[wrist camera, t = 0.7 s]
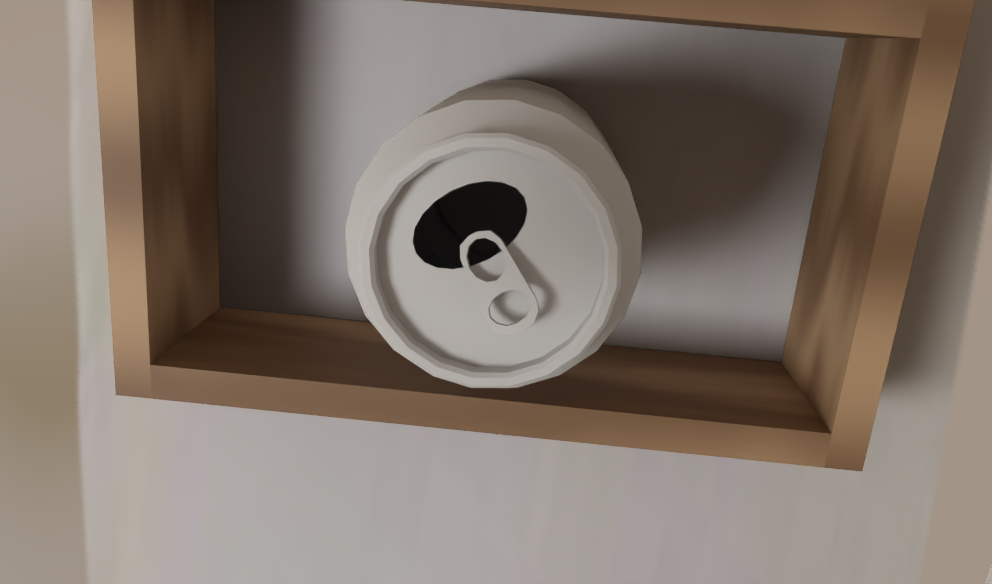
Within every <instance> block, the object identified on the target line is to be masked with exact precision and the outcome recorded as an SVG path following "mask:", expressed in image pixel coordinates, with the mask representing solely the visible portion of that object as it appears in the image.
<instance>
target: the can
mask: <svg viewBox="0 0 992 584" xmlns="http://www.w3.org/2000/svg"><path fill="white" fill-rule="evenodd" d="M345 237H346V251H347V264H348V275H349V277H350V280H351V282H352V284H353V287H354V289H355V292H356V294H357V297H358V299H359V302H360V304H361V307H362V309H363V311H364V314H365V316H366V317H367V318H368V319H369V321H370V322H371V323H372V324H373V326H374V327H375V328H376V329H377V330H378V332H379V333H380V334H381V335H382V336H383V338H384V339H385V340H386V341H387V343H388V344H389V345H390V346H391V347H392V349H393V350H395V351H396V352H398V353H399V354H400V355H402V356H403V357H405V358H406V359H408V360H409V361H411V362H412V363H414V364H415V365H417V366H419V367H420V368H422V369H423V370H425V371H426V372H428V373H429V374H431V375H432V376H434V377H437V378H441V379H444V380H447V381H451V382H454V383H457V384H460V385H464V386H467V387H470V388H518V387H521V386H525V385H528V384H531V383H535V382H538V381H542V380H545V379H549V378H552V377H555V376H559V375H561V374H562V373H564V372H565V371H567V370H568V369H570V368H571V367H573V366H575V365H576V364H578V363H579V362H581V361H582V360H584V359H585V358H587V357H588V356H590V355H591V354H593V353H594V352H596V351H597V350H598V349H599V347H600V346H601V345H602V344H603V342H604V341H605V340H606V339H607V337H608V336H609V335H610V334H611V332H612V331H613V330H614V329H615V328H616V326H617V325H618V324H619V323H620V321H621V320H622V319H623V318H624V316H625V314H626V311H627V309H628V306H629V303H630V301H631V298H632V295H633V293H634V290H635V287H636V285H637V282H638V279H639V277H640V274H641V249H642V225H641V222H640V219H639V215H638V212H637V209H636V205H635V202H634V199H633V195H632V192H631V189H630V185H629V182H628V181H627V179H626V177H625V175H624V173H623V171H622V169H621V167H620V166H619V164H618V162H617V160H616V158H615V156H614V154H613V152H612V151H611V149H610V147H609V145H608V143H607V141H606V139H605V138H604V136H603V135H602V133H601V132H600V130H599V129H598V128H597V126H596V125H595V123H594V122H593V121H592V119H591V118H590V116H589V115H588V113H587V112H586V111H585V109H583V108H582V107H580V106H579V105H578V104H576V103H575V102H574V101H572V100H571V99H569V98H568V97H567V96H565V95H564V94H563V93H561V92H560V91H559V90H557V89H554V88H550V87H547V86H544V85H541V84H538V83H535V82H532V81H528V80H525V79H522V80H490V81H487V82H484V83H481V84H478V85H476V86H473V87H470V88H467V89H464V90H461V91H459V92H457V93H456V94H454V95H453V96H451V97H449V98H448V99H446V100H445V101H443V102H441V103H440V104H438V105H436V106H435V107H433V108H432V109H430V110H428V111H427V112H425V113H424V114H422V115H420V116H419V117H418V118H416V119H415V120H414V121H412V122H411V123H410V124H409V125H407V126H406V127H405V128H404V129H402V130H401V131H400V132H398V133H397V134H396V135H395V136H393V137H392V138H391V139H390V140H388V141H387V142H386V143H384V144H383V145H382V146H381V147H380V149H379V150H378V152H377V153H376V155H375V157H374V158H373V160H372V161H371V163H370V164H369V166H368V167H367V169H366V170H365V172H364V173H363V175H362V177H361V178H360V180H359V181H358V183H357V184H356V187H355V191H354V195H353V199H352V203H351V207H350V211H349V215H348V219H347V223H346V227H345Z"/></svg>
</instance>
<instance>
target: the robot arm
mask: <svg viewBox="0 0 992 584" xmlns="http://www.w3.org/2000/svg"><path fill="white" fill-rule="evenodd" d="M985 584H992V565H991V568H990V571H989V574H988V577H987V580H986V583H985Z"/></svg>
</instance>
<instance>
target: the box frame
mask: <svg viewBox="0 0 992 584" xmlns="http://www.w3.org/2000/svg"><path fill="white" fill-rule="evenodd" d="M405 1H417V2H429V3H441V4H453V5H464V6H476V7H488V8H500V9H512V10H523V11H535V12H547V13H559V14H571V15H582V16H594V17H606V18H618V19H630V20H641V21H653V22H665V23H677V24H689V25H700V26H712V27H724V28H736V29H748V30H759V31H771V32H783V33H795V34H807V35H818V36H830V37H842V38H846V40H845V45H844V51H843V56H842V61H841V66H840V71H839V76H838V81H837V86H836V91H835V96H834V101H833V106H832V111H831V116H830V121H829V126H828V131H827V136H826V141H825V146H824V151H823V156H822V161H821V166H820V171H819V176H818V181H817V186H816V191H815V196H814V201H813V206H812V211H811V216H810V221H809V226H808V231H807V236H806V241H805V246H804V251H803V256H802V261H801V266H800V271H799V276H798V281H797V286H796V291H795V296H794V302H793V307H792V312H791V317H790V322H789V327H788V332H787V337H786V342H785V347H784V352H783V357H782V362H771V361H761V360H751V359H741V358H731V357H720V356H710V355H700V354H690V353H680V352H670V351H659V350H649V349H639V348H629V347H619V346H609V345H601V346H600V347H599V349H598V350H597V351H596V352H594V353H593V354H591V355H590V356H588V357H587V358H585V359H584V360H582V361H581V362H579V363H578V364H576V365H575V366H573V367H571V368H570V369H568V370H567V371H565V372H564V373H562V374H561V375H559V376H555V377H552V378H549V379H545V380H542V381H538V382H535V383H531V384H528V385H525V386H521V387H518V388H470V387H467V386H464V385H460V384H457V383H454V382H451V381H447V380H444V379H441V378H437V377H434V376H432V375H431V374H429V373H428V372H426V371H425V370H423V369H422V368H420V367H419V366H417V365H415V364H414V363H412V362H411V361H409V360H408V359H406V358H405V357H403V356H402V355H400V354H399V353H398V352H396V351H395V350H393V349H392V347H391V346H390V345H389V344H388V343H387V341H386V340H385V339H384V338H383V336H382V335H381V334H380V333H379V332H378V330H377V329H376V328H375V327H374V326H373V324H372V323H371V322H365V321H355V320H344V319H334V318H324V317H314V316H304V315H294V314H283V313H273V312H263V311H253V310H243V309H233V308H222V307H220V288H219V236H218V184H217V131H216V79H215V27H214V0H92V8H93V25H94V41H95V57H96V74H97V90H98V107H99V123H100V140H101V156H102V173H103V189H104V206H105V222H106V238H107V255H108V271H109V288H110V304H111V321H112V337H113V354H114V370H115V387H116V395H123V396H132V397H142V398H152V399H162V400H171V401H181V402H191V403H201V404H210V405H220V406H230V407H240V408H249V409H259V410H269V411H279V412H288V413H298V414H308V415H318V416H327V417H337V418H347V419H357V420H366V421H376V422H386V423H396V424H405V425H415V426H425V427H435V428H444V429H454V430H464V431H474V432H483V433H493V434H503V435H513V436H522V437H532V438H542V439H552V440H561V441H571V442H581V443H591V444H600V445H610V446H620V447H630V448H639V449H649V450H659V451H669V452H678V453H688V454H698V455H708V456H717V457H727V458H737V459H747V460H756V461H766V462H776V463H786V464H795V465H805V466H815V467H825V468H834V469H844V470H854V471H862V469H863V465H864V461H865V457H866V453H867V449H868V444H869V440H870V436H871V432H872V428H873V424H874V420H875V415H876V411H877V407H878V403H879V399H880V395H881V390H882V386H883V382H884V378H885V374H886V370H887V366H888V361H889V357H890V353H891V349H892V345H893V341H894V337H895V332H896V328H897V324H898V320H899V316H900V312H901V307H902V303H903V299H904V295H905V291H906V287H907V283H908V278H909V274H910V270H911V266H912V262H913V258H914V253H915V249H916V245H917V241H918V237H919V233H920V229H921V224H922V220H923V216H924V212H925V208H926V204H927V200H928V195H929V191H930V187H931V183H932V179H933V175H934V170H935V166H936V162H937V158H938V154H939V150H940V146H941V141H942V137H943V133H944V129H945V125H946V121H947V116H948V112H949V108H950V104H951V100H952V96H953V92H954V87H955V83H956V79H957V75H958V71H959V67H960V62H961V58H962V54H963V50H964V46H965V42H966V38H967V33H968V29H969V25H970V21H971V17H972V13H973V9H974V4H975V0H405Z"/></svg>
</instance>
